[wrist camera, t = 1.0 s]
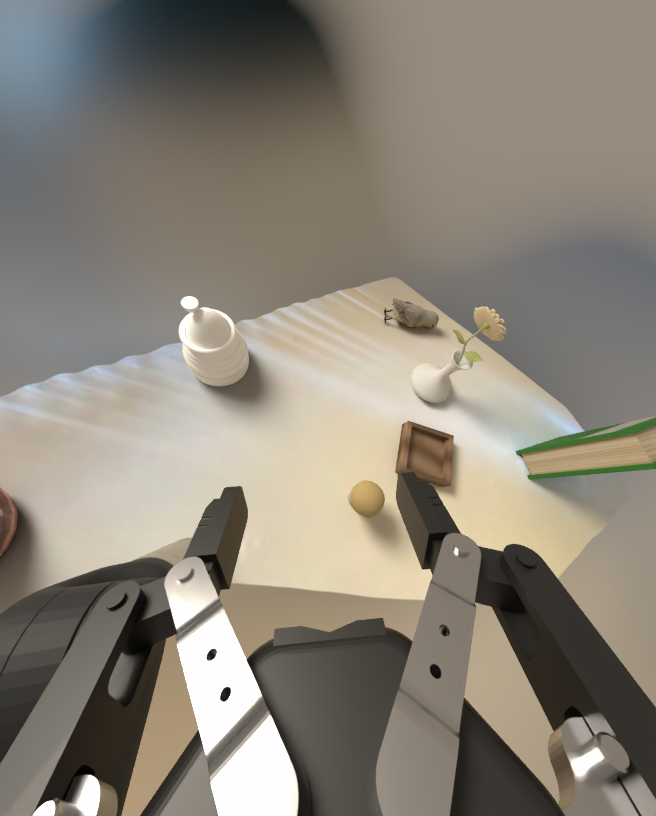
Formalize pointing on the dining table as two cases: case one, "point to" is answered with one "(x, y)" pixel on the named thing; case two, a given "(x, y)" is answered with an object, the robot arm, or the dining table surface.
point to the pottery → (7, 521)
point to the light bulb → (366, 498)
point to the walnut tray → (425, 453)
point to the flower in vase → (455, 359)
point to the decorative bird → (412, 314)
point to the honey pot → (212, 345)
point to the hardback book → (595, 451)
